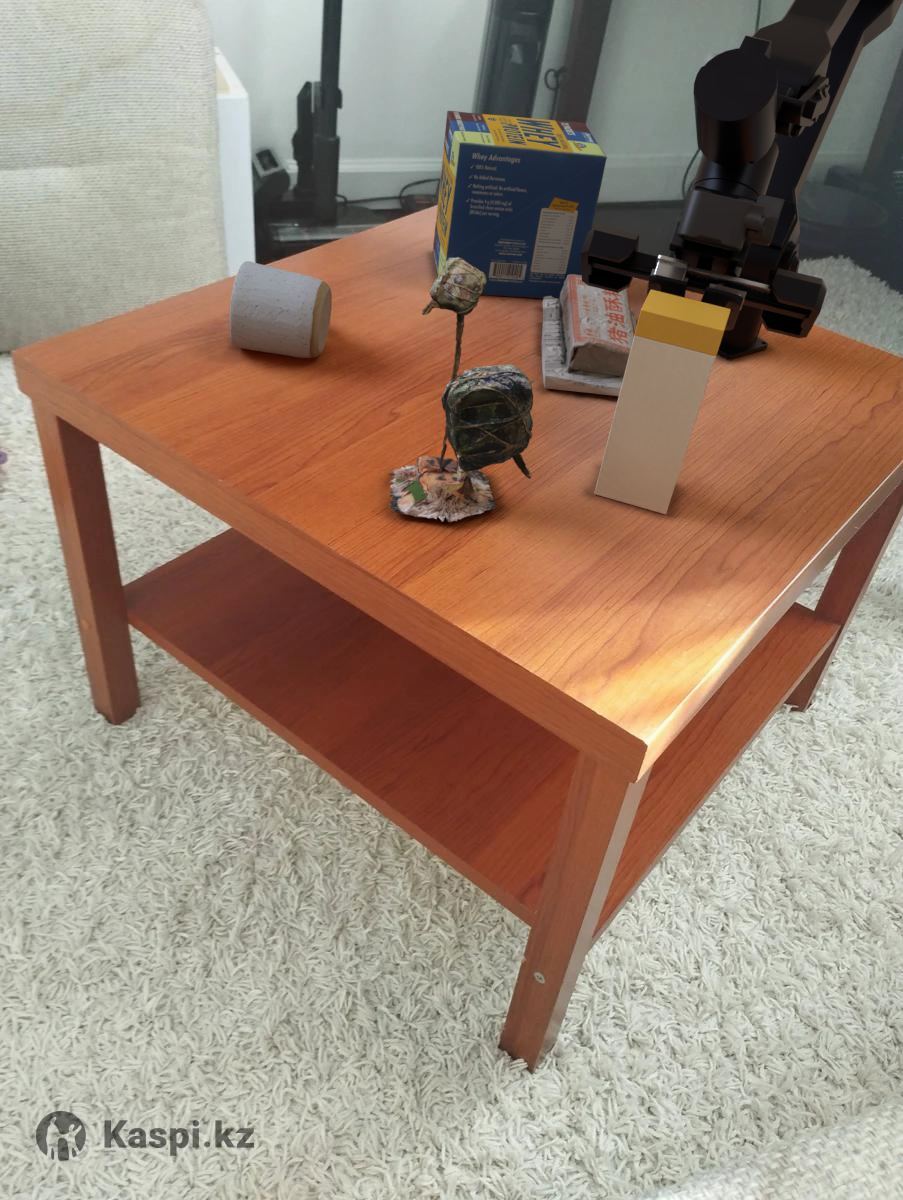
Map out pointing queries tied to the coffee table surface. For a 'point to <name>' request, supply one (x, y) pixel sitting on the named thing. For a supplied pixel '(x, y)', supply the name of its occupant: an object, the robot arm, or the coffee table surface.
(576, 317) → the packaged product
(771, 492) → the coffee table surface
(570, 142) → the protein box
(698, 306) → the block
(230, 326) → the grey cylinder
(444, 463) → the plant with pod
